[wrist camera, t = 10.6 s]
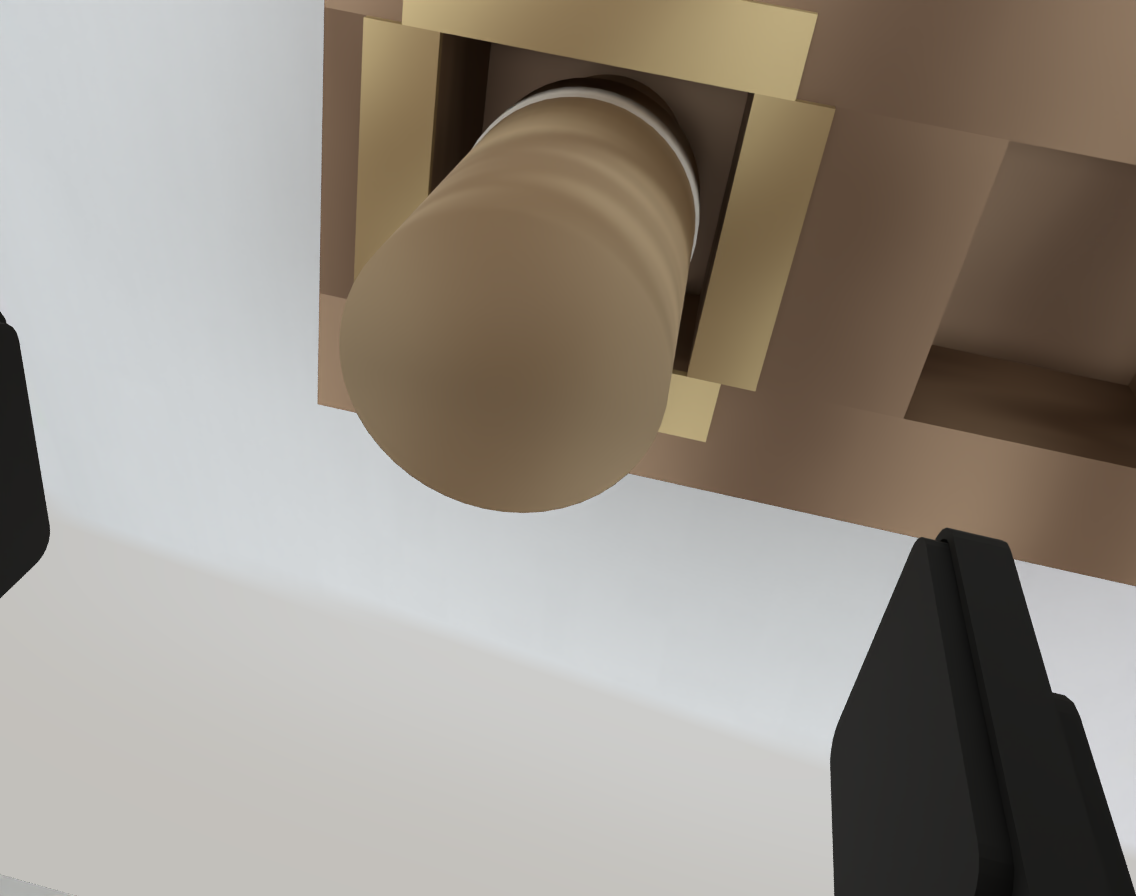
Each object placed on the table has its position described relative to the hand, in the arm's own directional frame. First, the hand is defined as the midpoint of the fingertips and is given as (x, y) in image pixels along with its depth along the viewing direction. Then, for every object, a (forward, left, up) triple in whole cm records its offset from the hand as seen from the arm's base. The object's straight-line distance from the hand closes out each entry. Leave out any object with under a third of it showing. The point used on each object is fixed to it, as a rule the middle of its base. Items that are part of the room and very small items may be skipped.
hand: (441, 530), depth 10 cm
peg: (0, 0, -14) cm, 14 cm away
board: (-5, 0, -15) cm, 16 cm away
